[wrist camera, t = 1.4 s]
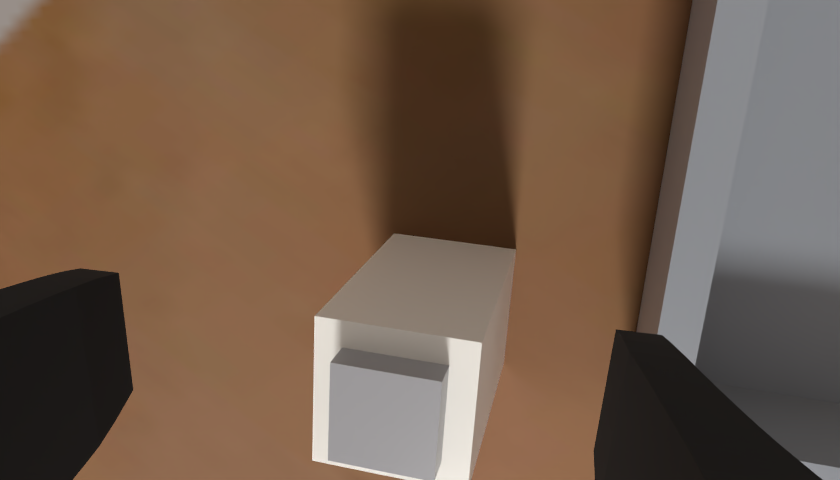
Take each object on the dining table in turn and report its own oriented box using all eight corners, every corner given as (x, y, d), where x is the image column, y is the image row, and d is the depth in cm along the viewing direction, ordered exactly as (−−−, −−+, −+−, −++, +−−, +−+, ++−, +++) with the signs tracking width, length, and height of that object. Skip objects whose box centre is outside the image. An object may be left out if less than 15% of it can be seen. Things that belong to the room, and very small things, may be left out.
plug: (503, 362, 24) (461, 513, 16) (388, 343, 25) (300, 479, 17) (516, 249, 22) (476, 358, 15) (394, 233, 23) (301, 329, 16)
